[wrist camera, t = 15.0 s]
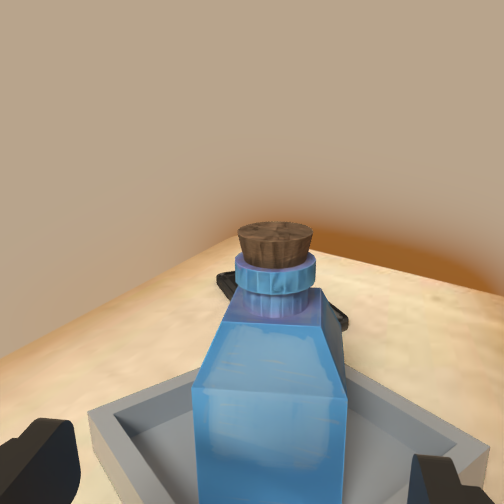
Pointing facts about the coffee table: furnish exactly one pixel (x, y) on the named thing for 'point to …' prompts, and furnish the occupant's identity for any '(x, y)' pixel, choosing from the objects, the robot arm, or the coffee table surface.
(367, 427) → the grey tray
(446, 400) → the coffee table surface
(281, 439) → the perfume bottle
